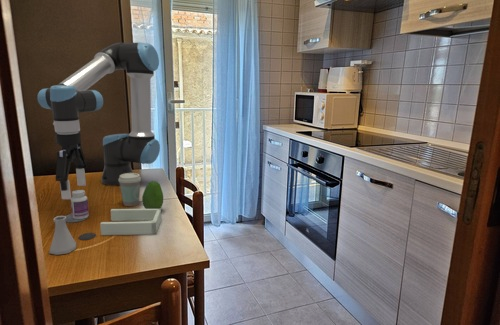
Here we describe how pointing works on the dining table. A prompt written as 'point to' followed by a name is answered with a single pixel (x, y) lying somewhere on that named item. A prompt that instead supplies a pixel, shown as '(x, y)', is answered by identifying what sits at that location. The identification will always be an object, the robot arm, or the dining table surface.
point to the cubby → (132, 227)
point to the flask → (62, 238)
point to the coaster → (72, 220)
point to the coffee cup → (130, 188)
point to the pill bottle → (79, 205)
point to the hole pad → (87, 236)
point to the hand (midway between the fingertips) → (74, 191)
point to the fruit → (152, 196)
